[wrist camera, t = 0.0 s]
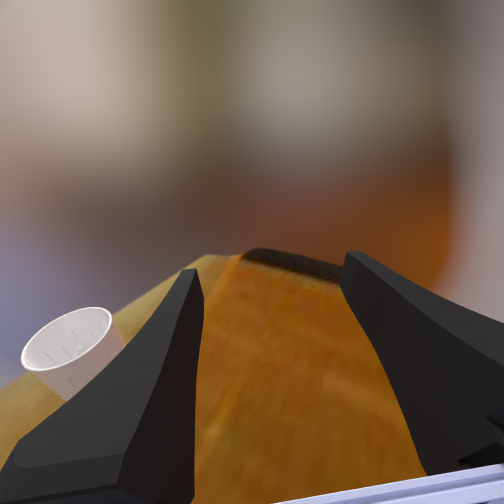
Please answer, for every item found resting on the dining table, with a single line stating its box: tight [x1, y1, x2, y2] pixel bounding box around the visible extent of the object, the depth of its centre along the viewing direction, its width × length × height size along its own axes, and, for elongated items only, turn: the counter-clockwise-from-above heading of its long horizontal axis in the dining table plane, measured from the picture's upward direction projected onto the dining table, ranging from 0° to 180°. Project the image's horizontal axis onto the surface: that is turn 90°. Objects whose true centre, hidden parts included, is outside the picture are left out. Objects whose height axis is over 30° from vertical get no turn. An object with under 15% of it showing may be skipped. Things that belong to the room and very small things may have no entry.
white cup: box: [21, 307, 125, 402], centre depth 26 cm, size 8×8×10 cm
